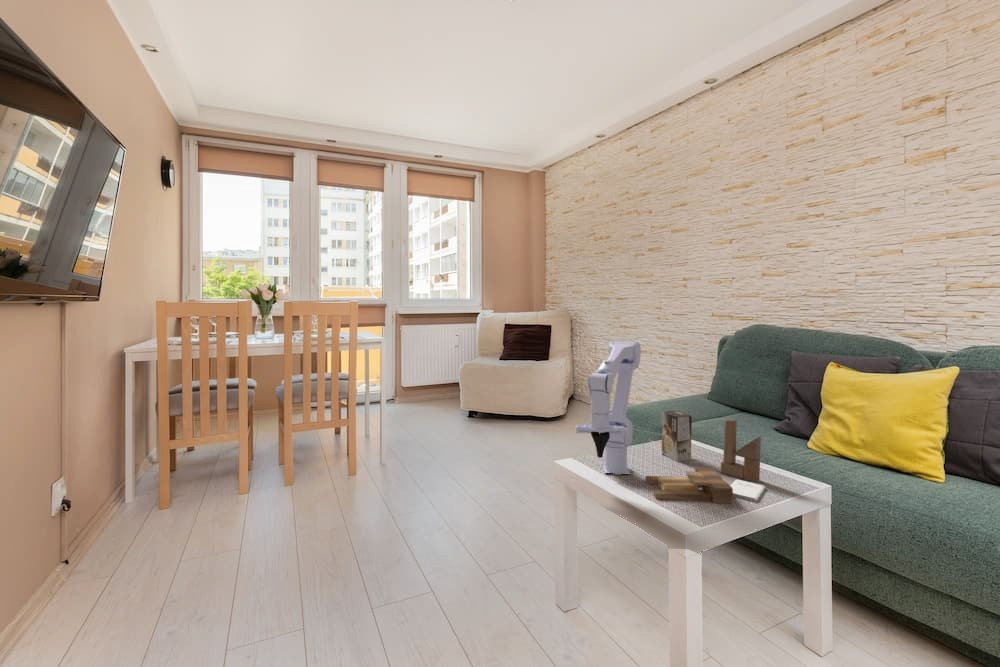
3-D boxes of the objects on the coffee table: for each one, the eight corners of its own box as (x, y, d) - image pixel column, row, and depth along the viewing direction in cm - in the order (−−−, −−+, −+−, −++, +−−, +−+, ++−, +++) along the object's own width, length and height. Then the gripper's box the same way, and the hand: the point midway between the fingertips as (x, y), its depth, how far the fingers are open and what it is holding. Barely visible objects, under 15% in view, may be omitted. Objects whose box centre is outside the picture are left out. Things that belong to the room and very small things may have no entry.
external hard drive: (725, 496, 134) (735, 483, 144) (756, 504, 129) (765, 490, 139) (725, 491, 134) (735, 478, 144) (756, 498, 129) (765, 485, 138)
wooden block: (755, 483, 143) (756, 426, 142) (720, 473, 151) (721, 419, 150) (759, 480, 145) (761, 424, 144) (725, 470, 153) (727, 417, 152)
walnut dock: (644, 479, 146) (644, 466, 146) (711, 481, 144) (711, 468, 144) (656, 500, 130) (657, 485, 130) (732, 503, 128) (732, 488, 128)
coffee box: (692, 460, 164) (693, 415, 163) (677, 461, 162) (677, 417, 161) (675, 452, 173) (675, 410, 172) (660, 453, 171) (661, 411, 170)
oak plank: (658, 486, 141) (658, 477, 141) (691, 487, 141) (691, 477, 141) (664, 494, 135) (664, 484, 135) (698, 495, 135) (698, 485, 135)
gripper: (576, 415, 136) (576, 460, 137) (626, 416, 135) (626, 461, 135) (575, 409, 143) (575, 452, 144) (622, 410, 142) (622, 453, 142)
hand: (599, 456), depth 140 cm, fingers closed
